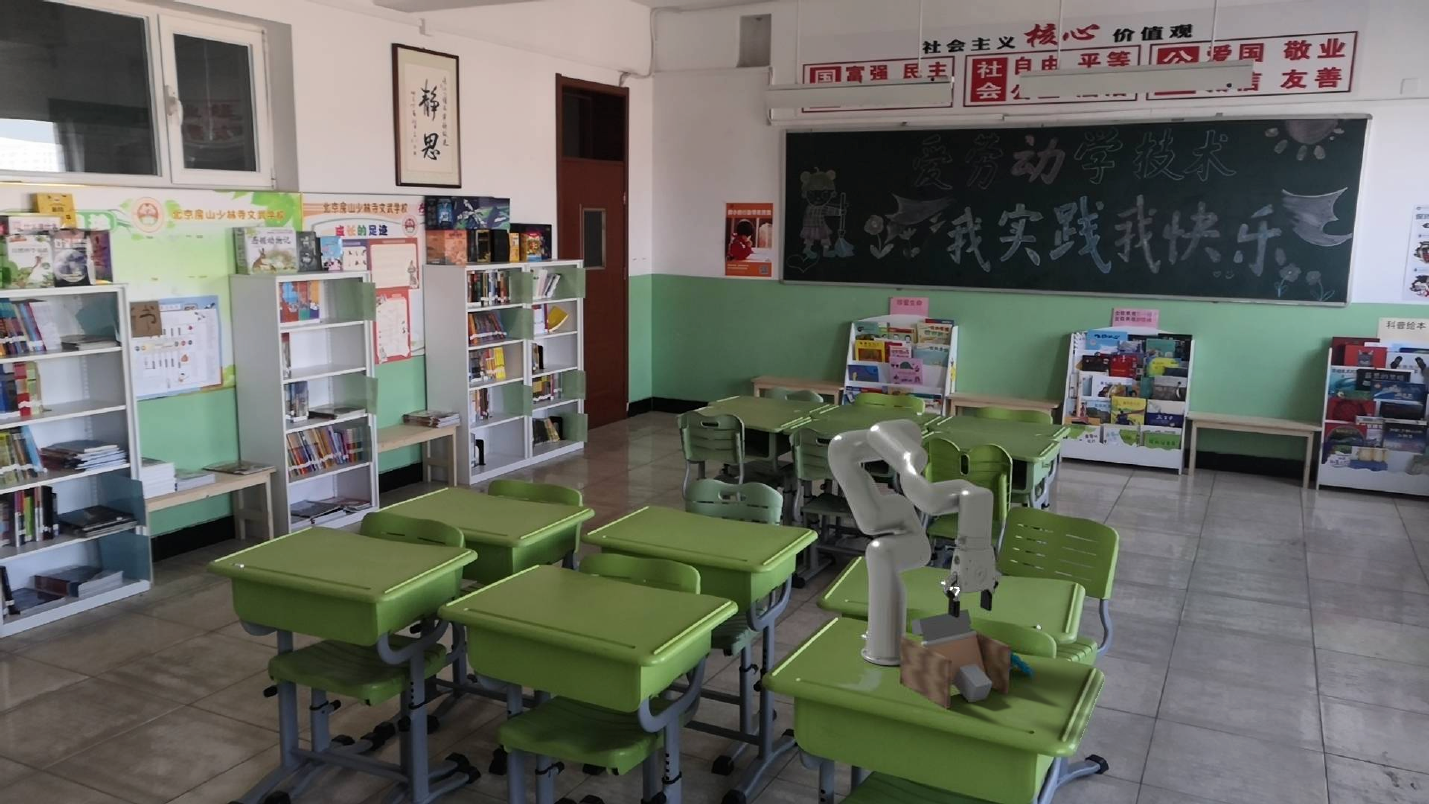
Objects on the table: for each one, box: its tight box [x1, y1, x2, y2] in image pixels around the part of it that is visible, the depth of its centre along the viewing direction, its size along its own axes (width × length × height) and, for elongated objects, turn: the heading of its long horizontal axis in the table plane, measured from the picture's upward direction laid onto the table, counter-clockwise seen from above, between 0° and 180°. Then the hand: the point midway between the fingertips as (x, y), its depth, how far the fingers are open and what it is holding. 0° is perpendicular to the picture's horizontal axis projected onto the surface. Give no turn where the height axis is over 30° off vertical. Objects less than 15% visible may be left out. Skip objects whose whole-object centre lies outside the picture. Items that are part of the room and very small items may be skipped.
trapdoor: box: [909, 609, 986, 686], centre depth 252 cm, size 16×16×4 cm
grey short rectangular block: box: [953, 664, 993, 703], centre depth 245 cm, size 5×5×6 cm
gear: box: [1010, 650, 1034, 676], centre depth 259 cm, size 11×6×10 cm
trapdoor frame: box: [899, 628, 1012, 710], centre depth 250 cm, size 17×19×12 cm
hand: (969, 612), depth 244 cm, fingers open, 9 cm apart
